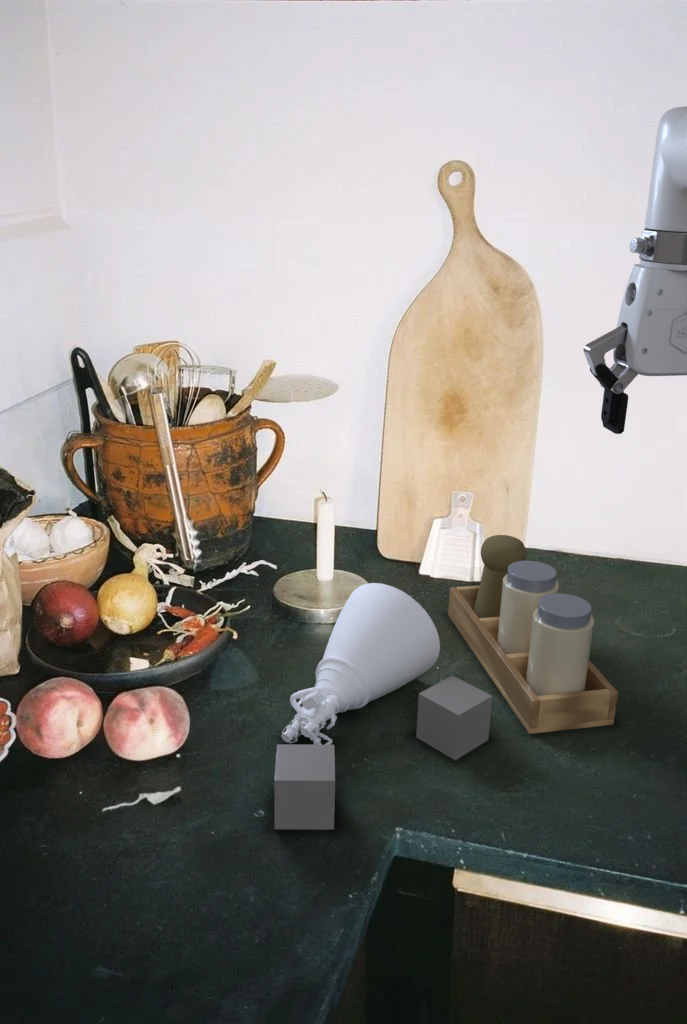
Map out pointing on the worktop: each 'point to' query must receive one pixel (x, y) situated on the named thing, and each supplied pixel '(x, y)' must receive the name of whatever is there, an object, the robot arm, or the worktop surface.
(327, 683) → the rocket engine
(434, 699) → the grey block
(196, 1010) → the worktop surface
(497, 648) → the spice rack
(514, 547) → the olive pepper mill
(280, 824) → the grey block
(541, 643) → the cream shaker
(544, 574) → the cream shaker
